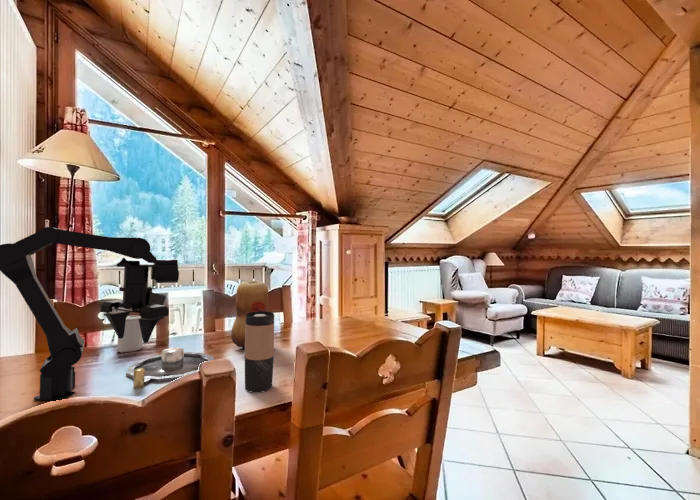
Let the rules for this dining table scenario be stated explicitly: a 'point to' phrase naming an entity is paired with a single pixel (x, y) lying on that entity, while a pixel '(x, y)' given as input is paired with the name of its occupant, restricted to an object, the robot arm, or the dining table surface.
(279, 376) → the dining table surface
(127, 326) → the can
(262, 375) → the travel mug
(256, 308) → the butternut squash
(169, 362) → the cover
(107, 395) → the dining table surface
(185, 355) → the curvy grey metal tray
